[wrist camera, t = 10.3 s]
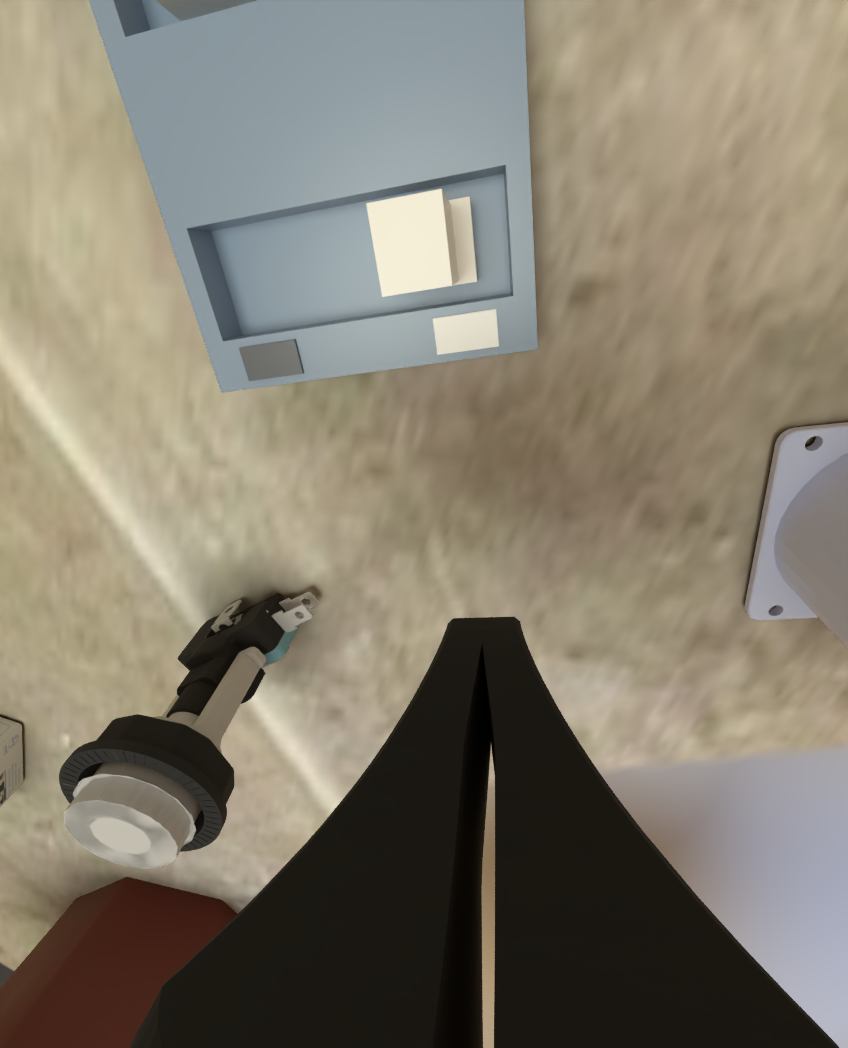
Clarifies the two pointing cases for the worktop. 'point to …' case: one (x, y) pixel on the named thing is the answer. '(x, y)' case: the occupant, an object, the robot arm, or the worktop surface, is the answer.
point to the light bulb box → (10, 758)
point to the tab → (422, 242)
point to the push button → (177, 745)
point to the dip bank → (332, 173)
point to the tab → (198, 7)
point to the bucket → (105, 965)
